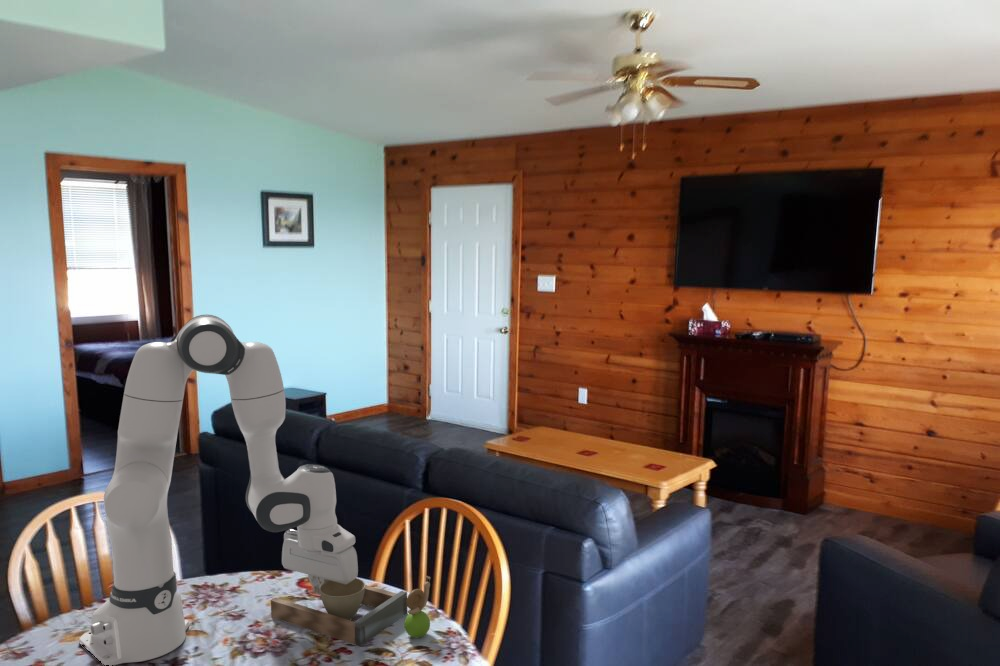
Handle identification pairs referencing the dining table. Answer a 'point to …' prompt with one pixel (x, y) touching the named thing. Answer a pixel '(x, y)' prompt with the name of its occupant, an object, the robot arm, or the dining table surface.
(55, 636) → the dining table surface
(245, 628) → the dining table surface
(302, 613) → the walled lane
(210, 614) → the dining table surface
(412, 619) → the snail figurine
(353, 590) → the flower pot
